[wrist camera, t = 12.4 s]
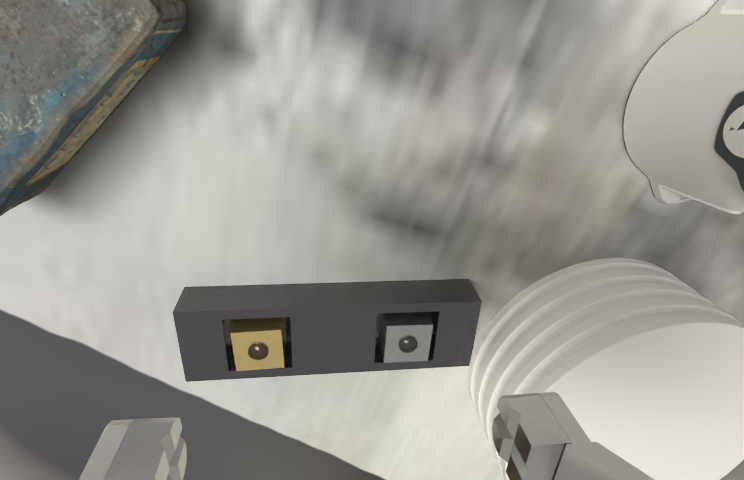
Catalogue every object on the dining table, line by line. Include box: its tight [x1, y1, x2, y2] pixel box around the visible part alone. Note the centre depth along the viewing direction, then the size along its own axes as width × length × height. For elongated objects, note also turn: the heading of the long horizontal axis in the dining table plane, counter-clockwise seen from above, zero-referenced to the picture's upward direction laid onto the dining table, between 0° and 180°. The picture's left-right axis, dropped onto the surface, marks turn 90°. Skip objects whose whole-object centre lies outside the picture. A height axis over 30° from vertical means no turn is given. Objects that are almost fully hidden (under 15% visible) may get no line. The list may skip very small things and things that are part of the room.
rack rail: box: [173, 279, 482, 381], centre depth 43 cm, size 28×8×4 cm, turn 87°
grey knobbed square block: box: [377, 312, 433, 363], centre depth 44 cm, size 4×4×5 cm
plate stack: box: [468, 258, 744, 480], centre depth 48 cm, size 28×28×12 cm
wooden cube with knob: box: [230, 317, 287, 371], centre depth 42 cm, size 4×4×5 cm
